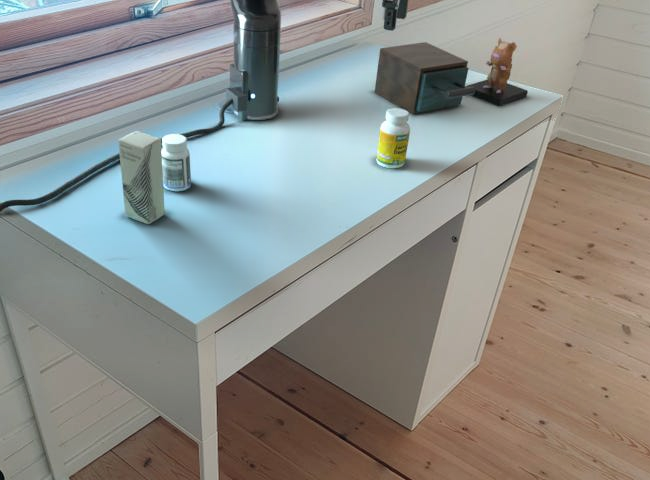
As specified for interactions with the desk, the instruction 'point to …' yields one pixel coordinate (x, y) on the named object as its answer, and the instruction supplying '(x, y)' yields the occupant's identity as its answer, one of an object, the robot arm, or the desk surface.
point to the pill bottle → (176, 163)
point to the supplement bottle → (393, 139)
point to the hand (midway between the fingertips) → (394, 23)
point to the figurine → (499, 78)
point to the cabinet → (410, 72)
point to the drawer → (443, 88)
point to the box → (142, 176)
